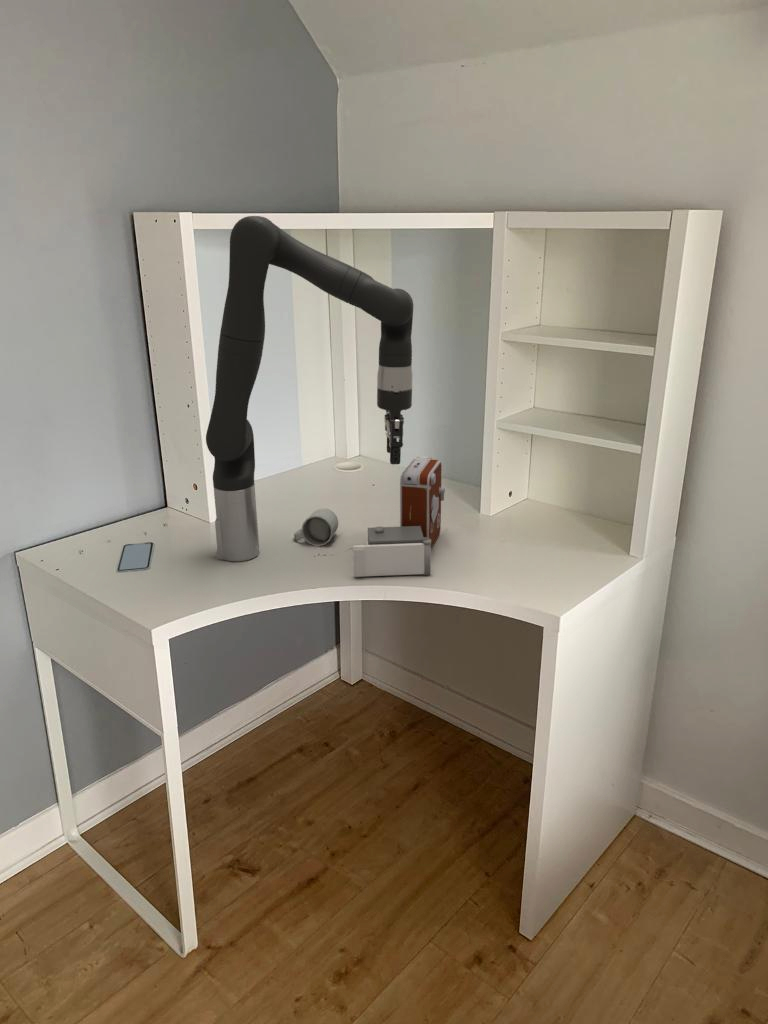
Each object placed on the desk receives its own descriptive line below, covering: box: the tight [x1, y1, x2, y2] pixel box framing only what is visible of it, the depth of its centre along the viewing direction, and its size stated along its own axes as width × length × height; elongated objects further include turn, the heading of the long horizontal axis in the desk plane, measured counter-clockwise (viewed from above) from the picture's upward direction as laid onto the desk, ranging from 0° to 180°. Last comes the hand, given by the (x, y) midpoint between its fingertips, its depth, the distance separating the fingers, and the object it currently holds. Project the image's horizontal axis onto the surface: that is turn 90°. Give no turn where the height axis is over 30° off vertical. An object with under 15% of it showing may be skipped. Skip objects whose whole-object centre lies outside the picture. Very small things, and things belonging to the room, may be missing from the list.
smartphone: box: [116, 541, 155, 573], centre depth 185 cm, size 7×1×15 cm
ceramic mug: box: [293, 508, 339, 547], centre depth 193 cm, size 11×8×8 cm
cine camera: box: [399, 455, 446, 550], centre depth 190 cm, size 9×19×20 cm, turn 164°
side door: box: [352, 543, 432, 577], centre depth 173 cm, size 17×2×7 cm, turn 94°
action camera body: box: [367, 526, 431, 545], centre depth 177 cm, size 14×10×9 cm
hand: (393, 458), depth 176 cm, fingers open, 8 cm apart
